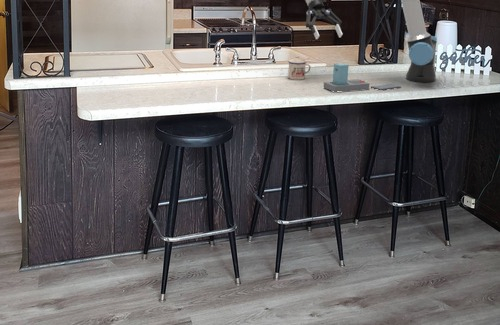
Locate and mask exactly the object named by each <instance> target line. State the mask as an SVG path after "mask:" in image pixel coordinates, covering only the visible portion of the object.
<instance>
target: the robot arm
mask: <svg viewBox="0 0 500 325" xmlns="http://www.w3.org/2000/svg"><path fill="white" fill-rule="evenodd" d="M400 1H401V2H400V3H401V7H402V10H403V15H404V20H405V23H406V28H407V32H408V38H407V39H406V42H407V47H408V57H409V60H410V65H409V67H408V71H407V73H406V74H405V79H406V80H408V81H411V82H416V83H417V82H418V83H432V82H436V77H437V76H436V71H435V66H434V64H435V57H436V49H437V44H438V39H437V37H436V36H435V35H434V36H433V35H431V34H430V33H429V32H427V27H426V23H425V19H424V15H423V10H422V4H421V1H420V0H400ZM305 3H306V4H307V7H308V9H307V11H306V12H305V15H306V18H305V19H306V20H305V28H308V30H310V31H311V33H312V34H313V35H314V38H315V40H318V39H319V38H320V34H319V31H318V29H317V26H316V25H315V22H316V20H320V19H321V20H326V21H328V22H329V23H331V24H332V25H333V26H334V29H335V31H336V33H337V36H338V38H342V36H343V34H344V33H343V32H342V27H341V26H342V23H343V21H342V20H341V19H340V18H339V17H338V16H337V15H336V14H335V13H334V12H333V11H332V8H328V9H326V8H325V4H324V2H323V0H305ZM311 16H312V17H313V18H312V20H311Z"/></svg>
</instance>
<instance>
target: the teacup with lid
mask: <svg viewBox="0 0 500 325" xmlns="http://www.w3.org/2000/svg"><path fill="white" fill-rule="evenodd" d="M306 66H308V70H307V71H306ZM311 70H312V66H311V65H310V64H308V63H307V61H306V60H305V59H303V58H301V57H300V56H299V55H295V57H294V58H292V59H289V60H288V73H287V74H288V75H287V76H288V77H287V78H288V79H289V78H290V80H293V79H294V81H295V80H296V81H301V79H302V80H305V78H306V74H309V73H310V72H311Z"/></svg>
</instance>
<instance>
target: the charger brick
mask: <svg viewBox="0 0 500 325" xmlns="http://www.w3.org/2000/svg"><path fill="white" fill-rule="evenodd" d="M348 75H349V64H346V63H344V62H339V63H333V74H332V81H333V84H335V85H347V80H348V77H349V76H348Z"/></svg>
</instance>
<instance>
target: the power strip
mask: <svg viewBox="0 0 500 325" xmlns="http://www.w3.org/2000/svg"><path fill="white" fill-rule="evenodd" d="M370 84H371V83H369V82H367V81H365V80H363V79H358V78H357V79H347V85H335V84H333V80H332V81H323V87H324V88H326V89H325V90H327V89H329V90H331V91H334V92H337V91H347V92H351V91H350V90H358V91H363V90H362V89H369V90H370ZM323 87H322V88H323ZM324 88H323V89H324ZM329 90H328V91H329ZM331 91H330V92H331ZM334 92H333V93H334ZM337 93H338V92H337Z"/></svg>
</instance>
